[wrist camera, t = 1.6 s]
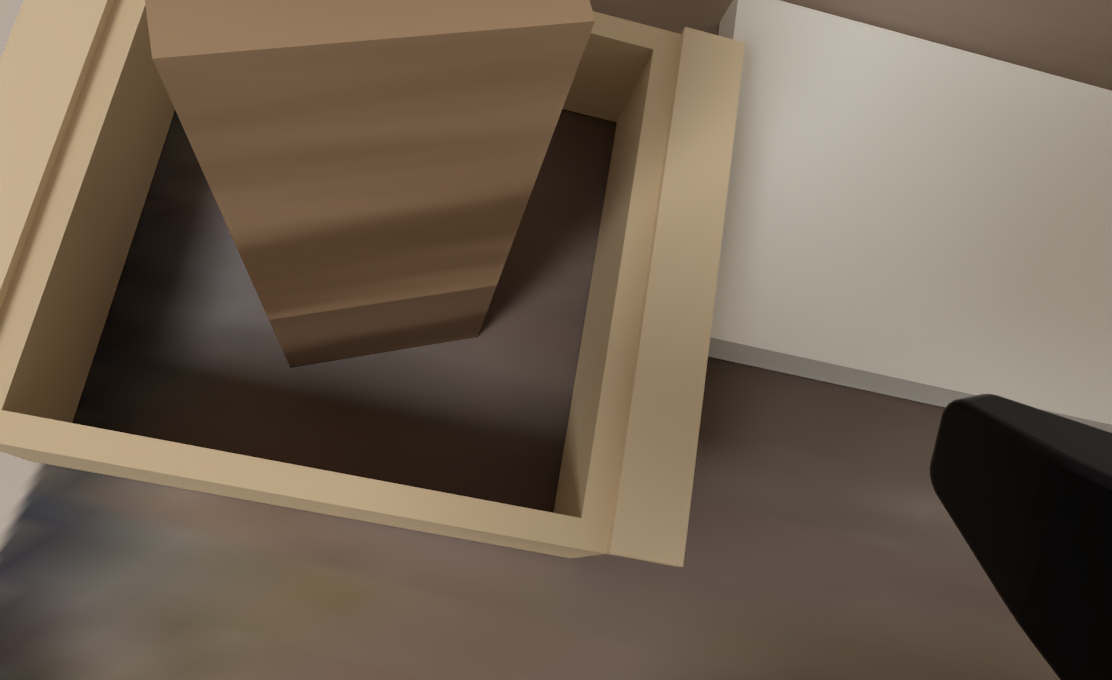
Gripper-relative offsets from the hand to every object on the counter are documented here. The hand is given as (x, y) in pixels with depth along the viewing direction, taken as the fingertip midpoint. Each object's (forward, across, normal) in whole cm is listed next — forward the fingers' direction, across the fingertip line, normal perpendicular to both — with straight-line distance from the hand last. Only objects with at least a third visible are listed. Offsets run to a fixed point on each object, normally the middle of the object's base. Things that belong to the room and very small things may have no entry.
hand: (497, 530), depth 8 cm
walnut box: (+15, 0, +4) cm, 15 cm away
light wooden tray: (+15, 0, +4) cm, 15 cm away
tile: (+14, -16, +5) cm, 21 cm away
